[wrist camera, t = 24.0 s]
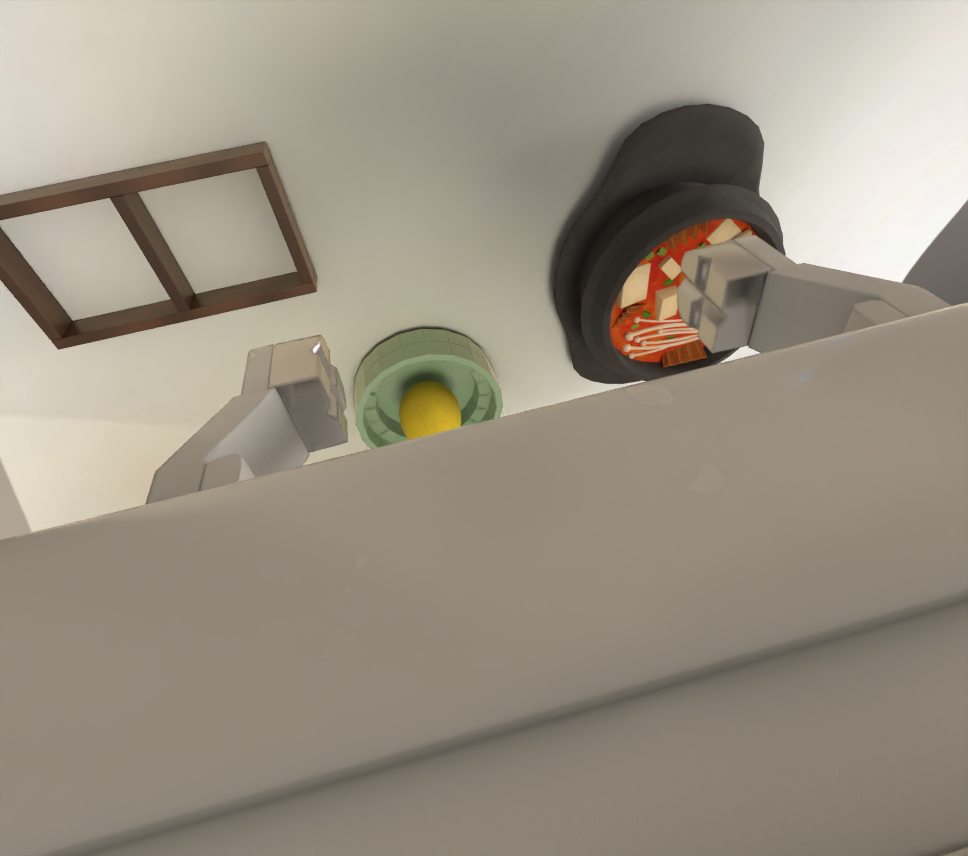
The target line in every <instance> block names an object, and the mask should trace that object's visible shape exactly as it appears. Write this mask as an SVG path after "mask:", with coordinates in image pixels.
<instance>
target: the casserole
mask: <svg viewBox="0 0 968 856" xmlns="http://www.w3.org/2000/svg"><path fill="white" fill-rule="evenodd" d="M763 151H764V141H763V138H762V135H761V132H760V129H759V127H758V126H757V125H756V124H755V123H754V122H753V121H752V120H751V119H750V118H749V117H748V116H746V115H744V114H742V113H740V112H738V111H736V110H734V109H732V108H729V107H723V106H717V105H712V104H702V105H691V106H683V107H680V108H676V109H673V110H670V111H667V112H663V113H661V114H659V115H657V116H655V117H653V118H651V119H650V120H648V121H646V122H644V123H642V124H641V125H640V126H639V127H638V128H637V129H636V130H635V131H634V132H633V133H632V134H631V135H630V136H629V137H628V138H627V139H626V140H625V141H624V143H623V145H622V147H621V149H620V150H619V152H618V154H617V156H616V158H615V160H614V162H613V164H612V166H611V168H610V170H609V172H608V174H607V176H606V178H605V180H604V182H603V184H602V186H601V188H600V190H599V191H598V193H597V194H596V196H595V197H594V198H593V200H592V201H591V203H590V204H589V205H588V207H587V208H586V210H585V211H584V213H583V214H582V215H581V217H580V218H579V220H578V221H577V223H576V224H575V225H574V227H573V228H572V230H571V232H570V234H569V236H568V238H567V240H566V242H565V245H564V247H563V249H562V251H561V254H560V258H559V262H558V265H557V269H556V274H555V288H554V294H555V301H556V308H557V312H558V314H559V317H560V319H561V322H562V324H563V326H564V329H565V331H566V334H567V336H568V338H569V343H570V349H571V355H572V361H573V367H574V369H575V370H576V371H577V372H578V373H579V375H580V376H582V377H584V378H586V379H588V380H591V381H594V382H600V383H605V384H624V383H631V382H637V381H641V380H643V381H651V380H655V379H659V378H663V377H667V376H671V375H675V374H679V373H683V372H687V371H691V370H695V369H699V368H703V367H708V366H712V365H716V364H718V363H720V362H721V361H723V360H725V359H726V358H728V357H729V356H730V355H731V354H733V353H734V352H735V351H736V350H738V349H739V348H740V347H739V348H735V349H730V350H725V351H721V352H716V353H712V352H711V351H710V350H709V349H708V348H707V347H706V346H705V345H704V344H703V343H702V341H701V340H700V339H699V338H698V331H699V330H697V329H694V328H691V327H688V326H687V325H686V324H685V323H684V321H683V320H682V318H681V316H680V314H679V312H678V306H677V292H678V287H679V286H680V284H681V283H682V282H683V280H684V279H685V278H686V277H685V276H684V274H683V273H682V272H681V270H680V269H681V263H682V258H683V256H684V254H685V252H687V251H690V250H694V249H698V248H701V247H705V246H709V245H713V244H717V243H721V242H725V241H729V240H733V239H736V238H740V237H744V236H747V235H756V236H757V237H759V238H760V239H762V240H763V241H765V242H766V243H767V244H769V245H770V246H772V247H773V248H774V249H776V250H777V251H779V252H780V253H782V254H783V255H784V256H785V250H784V247H783V234H782V231H781V227H780V223H779V220H778V217H777V216H776V214H775V212H774V211H773V209H772V208H771V206H770V204H769V203H767V202H766V201H765V200H764V199H763V198H761V197H760V196H759V184H760V177H761V170H762V162H763Z"/></svg>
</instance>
